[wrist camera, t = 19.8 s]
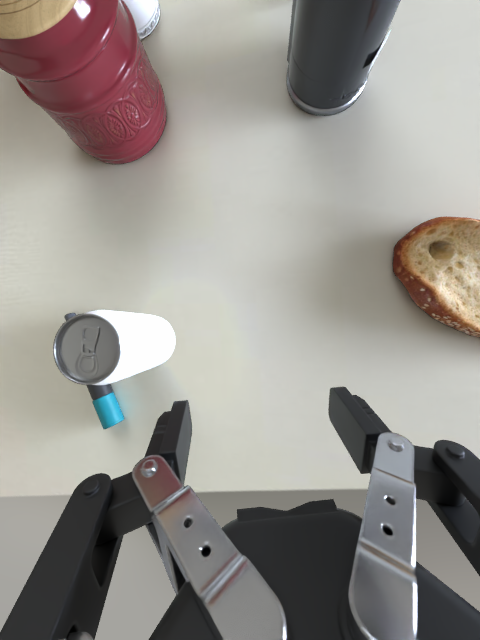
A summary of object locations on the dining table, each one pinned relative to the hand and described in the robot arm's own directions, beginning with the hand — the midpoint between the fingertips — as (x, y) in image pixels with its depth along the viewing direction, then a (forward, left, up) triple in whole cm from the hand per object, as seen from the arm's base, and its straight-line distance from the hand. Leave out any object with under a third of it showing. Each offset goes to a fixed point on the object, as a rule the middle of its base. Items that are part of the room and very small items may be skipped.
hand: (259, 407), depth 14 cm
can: (-8, -11, -17) cm, 22 cm away
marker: (-8, -18, -16) cm, 26 cm away
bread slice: (+2, +28, -17) cm, 32 cm away
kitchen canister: (-36, -3, -17) cm, 40 cm away
